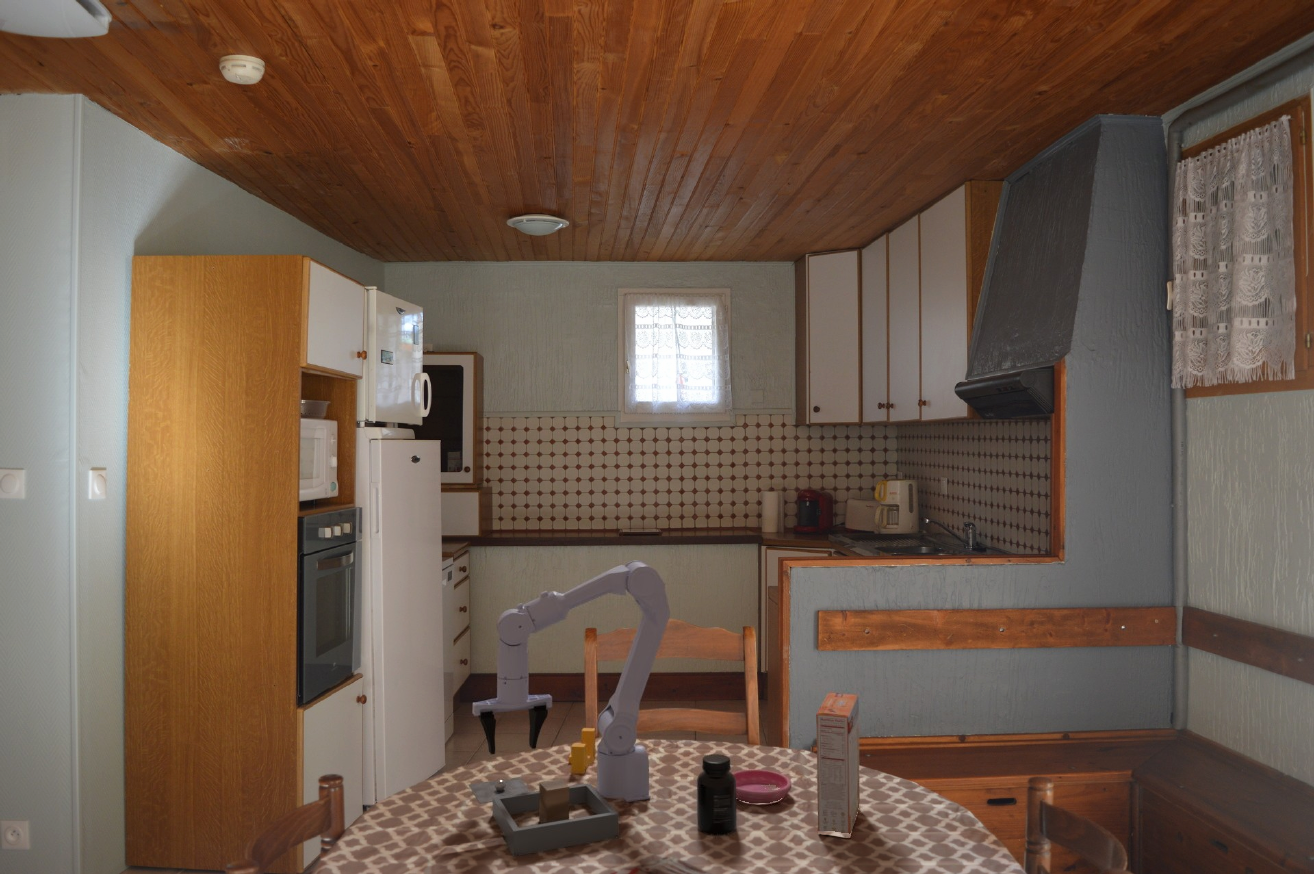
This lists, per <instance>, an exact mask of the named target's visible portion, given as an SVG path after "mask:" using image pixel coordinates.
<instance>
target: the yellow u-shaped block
mask: <svg viewBox="0 0 1314 874" xmlns="http://www.w3.org/2000/svg"><path fill="white" fill-rule="evenodd" d="M580 739H581V740H580V742H574V743H572V745H571V746H570V753H569V756H568V764H570V767H571V768H570V769H571V770H570V774H582V775H584V774H585V773H586V771H587V769H588V767H589V766H592V765H593V763H594V761H595V760H596V728H593V727H582V729H581V738H580ZM594 759H595V760H594Z"/></svg>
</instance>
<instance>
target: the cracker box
mask: <svg viewBox="0 0 1314 874" xmlns="http://www.w3.org/2000/svg"><path fill="white" fill-rule="evenodd" d="M859 706H860V705H859V695H858V694H852V693H851V694H847V693H841V692H840V693H839V692H828V693H827V694H826V696H825V698H824V700H823V702H822V703H821V706H820V707H819V709H818V711H817V712H816V716H815V717H816V718H815V720H816V724H815V725H816V781H817V782H816V783H817V784H816V788H817V789H816V791H817V792H816V793H817V795H816V796H817V832H818V831H835V832H841V833H849V834H850V833H851V831H852V829H853V825H854V822H855V818H856V815H857V812H858V813H859V811H858V808H859V804H860V805H861V803H860V801H861V800H860V797H861V796H860V795H861V794H860V793H861V792H860V730H859V729H860V727H859V726H860V719H859V716H860V715H859V713H860V712H859V711H860V710H859ZM859 809H860V808H859ZM857 816H858V815H857ZM856 819H857V818H856ZM855 823H856V822H855ZM854 826H855V825H854ZM853 830H854V829H853Z"/></svg>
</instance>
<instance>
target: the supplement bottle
mask: <svg viewBox="0 0 1314 874" xmlns="http://www.w3.org/2000/svg"><path fill="white" fill-rule="evenodd" d="M701 767H702V769H701V770H702V772H700V773H699V774H698V776H697V779H696V803H697V804H696V808H697V809H696V811H697V812H696V815H697V819H696V820H697V822H696V823H697V828H698V829H699V831H701V832H702V833H704V834H706V833H707V835H710V834H712V835H711V836H725V835H724V834H726V835H729V834H732V833H733V832H735V830H736V829H737V823H738V822H737V817H738V816H737V812H738V811H737V807H738V806H737V799H736V778H735V776H734V775H733V774H732V773H733V772H731V768H732V767H731V758H730V756H728V755H725V754H721V753H720V754H719V753H713V754H707V755H704V756H703V757H702V766H701ZM732 831H733V832H732ZM731 832H732V833H731ZM728 833H729V834H728Z"/></svg>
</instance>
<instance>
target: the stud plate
mask: <svg viewBox="0 0 1314 874" xmlns="http://www.w3.org/2000/svg"><path fill="white" fill-rule="evenodd" d="M468 787H469V788H470V789H471V792H472V793H473V795H474V797H475V798H476V801H478V804H479V805H481V804H486V803H493V798H495V797H501V796H508V795H515V794H521V793H528V792H531V790H530V789H529V788H528V786H527V785H526V783H525V782H524V780H522V778H521V776H519V777H518V776H517V777H509V778H505V779H497V780H490V781H482V782H475V783H469V784H468Z"/></svg>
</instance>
